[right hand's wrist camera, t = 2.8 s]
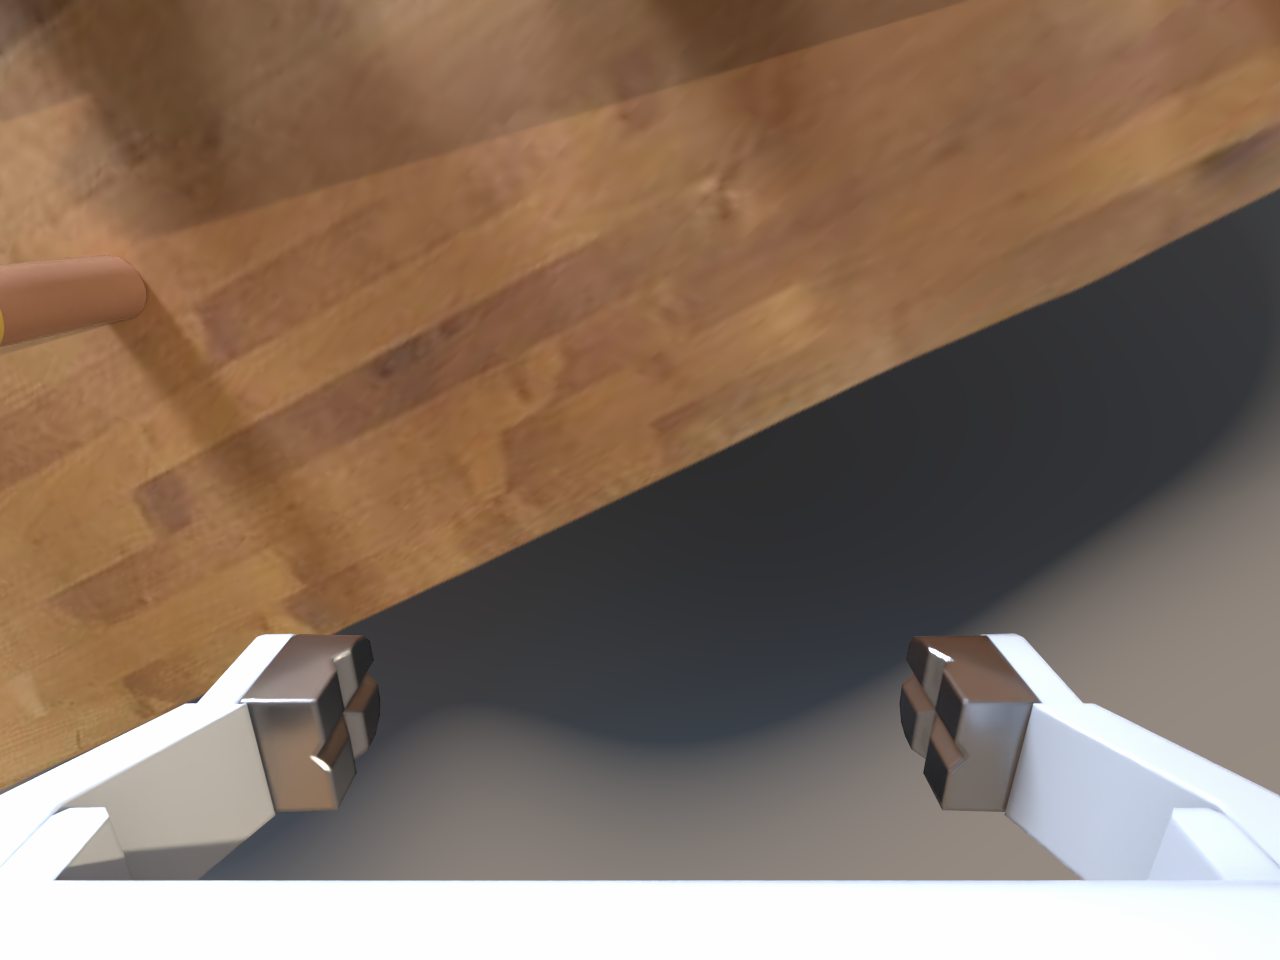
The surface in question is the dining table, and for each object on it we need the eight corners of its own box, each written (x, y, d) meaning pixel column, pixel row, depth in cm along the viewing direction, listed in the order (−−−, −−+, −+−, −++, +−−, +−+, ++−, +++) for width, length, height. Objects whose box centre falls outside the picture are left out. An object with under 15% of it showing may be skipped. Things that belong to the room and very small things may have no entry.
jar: (90, 242, 54) (-116, 256, 39) (154, 275, 55) (-24, 300, 40) (75, 300, 55) (-127, 333, 41) (138, 330, 56) (-39, 374, 42)
